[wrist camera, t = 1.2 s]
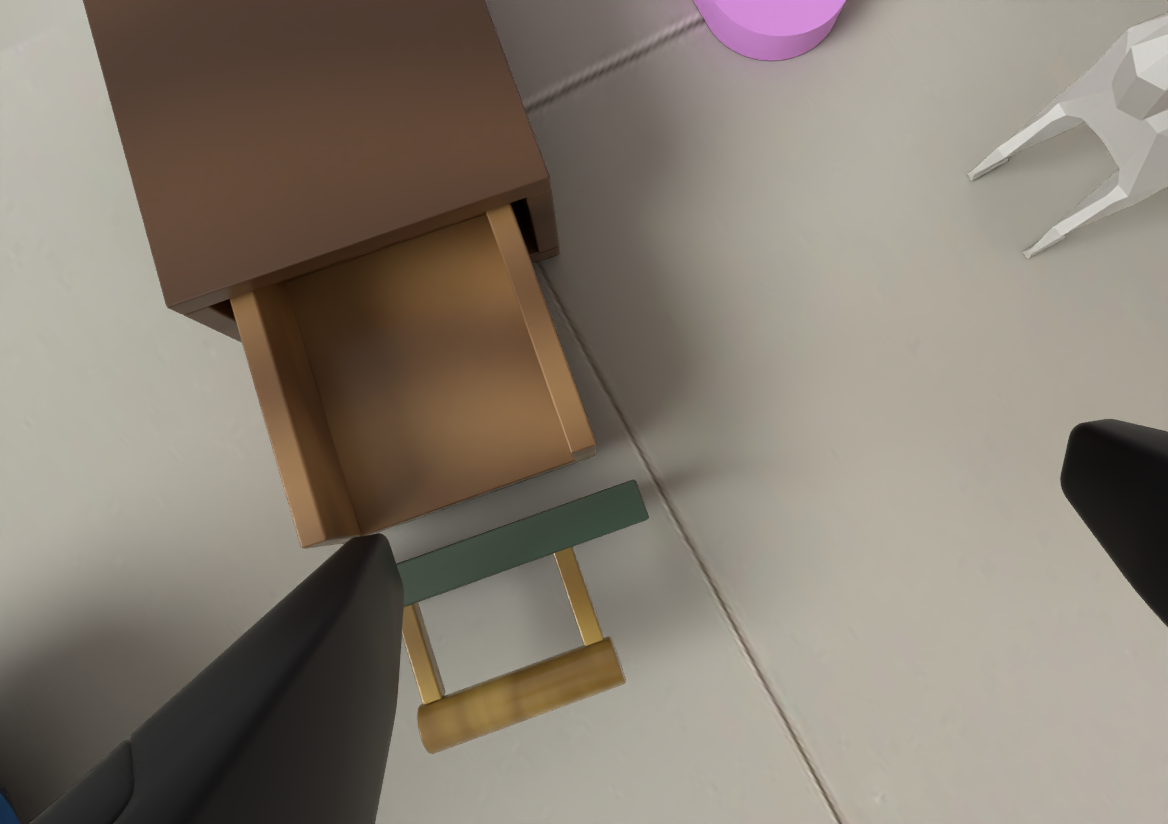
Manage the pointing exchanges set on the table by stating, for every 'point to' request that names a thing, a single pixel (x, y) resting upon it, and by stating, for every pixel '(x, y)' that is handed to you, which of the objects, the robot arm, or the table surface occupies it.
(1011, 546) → the table surface
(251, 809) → the robot arm
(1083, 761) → the table surface
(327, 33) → the cabinet
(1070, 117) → the cat figurine
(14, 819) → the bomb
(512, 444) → the drawer
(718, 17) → the bracket
